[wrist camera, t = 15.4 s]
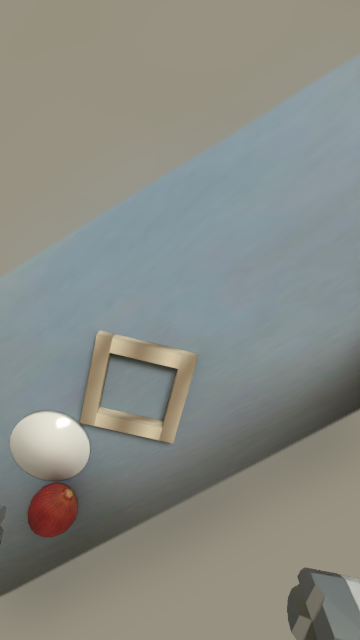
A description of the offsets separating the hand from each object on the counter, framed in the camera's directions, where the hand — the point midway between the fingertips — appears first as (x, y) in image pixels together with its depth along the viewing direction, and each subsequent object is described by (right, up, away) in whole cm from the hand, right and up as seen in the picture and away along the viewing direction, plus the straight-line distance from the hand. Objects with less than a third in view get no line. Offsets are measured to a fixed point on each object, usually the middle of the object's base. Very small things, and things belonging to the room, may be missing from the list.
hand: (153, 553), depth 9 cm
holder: (-4, -2, +31) cm, 31 cm away
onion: (-13, -15, +32) cm, 37 cm away
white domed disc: (-16, -10, +33) cm, 38 cm away
